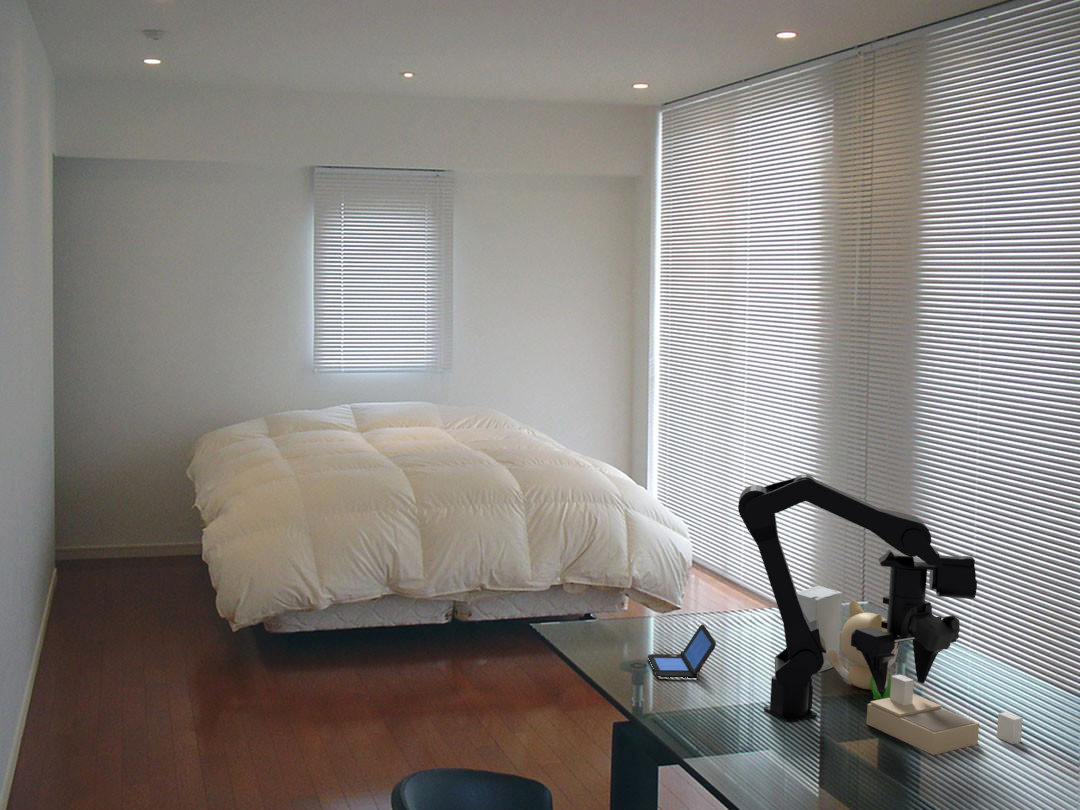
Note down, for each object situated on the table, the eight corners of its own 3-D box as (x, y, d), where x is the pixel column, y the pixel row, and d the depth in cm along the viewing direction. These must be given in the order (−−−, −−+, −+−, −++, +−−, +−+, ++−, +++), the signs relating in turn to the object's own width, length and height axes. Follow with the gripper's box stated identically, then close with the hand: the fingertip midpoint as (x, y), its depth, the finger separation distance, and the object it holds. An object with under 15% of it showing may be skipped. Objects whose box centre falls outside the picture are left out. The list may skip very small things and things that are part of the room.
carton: (933, 755, 173) (934, 733, 172) (866, 723, 185) (867, 703, 185) (977, 744, 178) (979, 722, 177) (909, 714, 190) (910, 694, 190)
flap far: (899, 716, 179) (901, 690, 179) (870, 703, 185) (871, 677, 184) (941, 707, 184) (942, 681, 183) (910, 695, 189) (912, 670, 189)
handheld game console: (646, 659, 216) (647, 622, 215) (701, 660, 217) (703, 622, 216) (656, 681, 204) (658, 641, 203) (715, 682, 204) (717, 642, 204)
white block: (997, 750, 176) (999, 723, 176) (964, 736, 182) (966, 710, 182) (1037, 741, 181) (1039, 715, 181) (1003, 727, 187) (1005, 702, 186)
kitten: (915, 701, 197) (920, 617, 195) (863, 704, 195) (867, 619, 193) (872, 673, 211) (876, 595, 210) (823, 675, 209) (827, 596, 208)
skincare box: (814, 659, 219) (818, 584, 217) (840, 667, 214) (844, 591, 213) (787, 667, 213) (791, 590, 212) (813, 675, 209) (817, 597, 207)
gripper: (904, 612, 172) (897, 711, 173) (986, 600, 181) (980, 694, 182) (851, 594, 181) (845, 688, 183) (932, 584, 190) (926, 673, 192)
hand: (901, 686), depth 185 cm, fingers open, 9 cm apart
